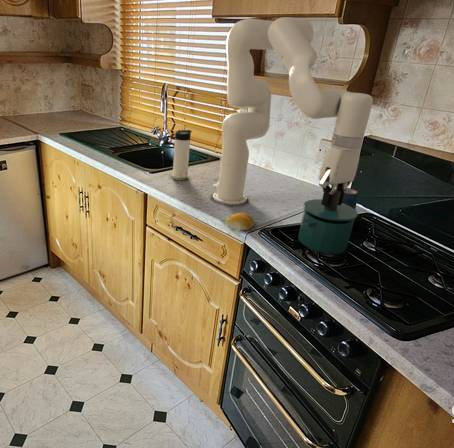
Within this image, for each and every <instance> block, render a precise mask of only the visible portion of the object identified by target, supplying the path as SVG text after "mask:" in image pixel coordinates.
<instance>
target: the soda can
mask: <svg viewBox="0 0 454 448" xmlns="http://www.w3.org/2000/svg"><path fill="white" fill-rule="evenodd" d="M358 200H359V195H358V190H356V189H354V188H351V187H347V190H346V192H344V197H343V201H342V203H343V204H346V205H348V206H350V207H352V208H354V209H355V210H356V209H357V204H358Z"/></svg>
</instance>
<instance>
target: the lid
mask: <svg viewBox="0 0 454 448" xmlns="http://www.w3.org/2000/svg"><path fill="white" fill-rule="evenodd" d="M333 194H334V195H335V196H334V200H333V204H332V207H331V208H328V207H326V206H324V205H322V204H321V202H322V198H317V199H309V200H306V201H305V202H304V203H303V210H304V209H305V210H306V211H307V212H309V213H310V214H312V215H315V216H317V217H320V218H324V219H328V220H334V221H350V220H354V221H355V219H357V218H358V214H359V213H358V211H357V210H356V208H355V209H354V208H352V207H350V206H348V205H346V204H343V203H342V205H340V206H339V205H338V202H339V198H340V195H341V191H340V190H337V189H336V188H335V190H334V193H333Z"/></svg>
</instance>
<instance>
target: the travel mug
mask: <svg viewBox="0 0 454 448" xmlns="http://www.w3.org/2000/svg"><path fill="white" fill-rule="evenodd" d="M191 133H193V131H192V130H190V129H182V130H177V131H175V134H174V135H175V136H174V144H173V145H174V146H173V160H172V161H173V162H172V175H171V176H172V179H173V180H176V181H185V180H187V179H188V172H189V160H190V148H191Z"/></svg>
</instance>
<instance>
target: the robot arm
mask: <svg viewBox="0 0 454 448" xmlns="http://www.w3.org/2000/svg"><path fill="white" fill-rule="evenodd" d="M314 35H315V32H314V26H313V25H312V23H311V22H310V21H309V20H307V19H305V18H301V17H300V18H298V17H289V16H284V17H279V18H277V19H275V20H268V19H259V18H246V19H241V20H239V21H237V22H235V23H234V24H233V25H232V26H231V28H230V30H229V31H228V34H227V37H226V44H225V50H226V51H225V52H226V59H227V78H226V79H227V83H226V84H227V85H226V98H227V103H228V105H229V106H230V107H231V108H234V109H247V111H240V112H232V113H230V114H228V115H227V116H226V117H225V118H224V119H223V121H222V124H221V136H222V138H221V139H222V146H221V147H222V148H221V157H220V158H221V159H220V166H219V176H218V181H216V183H214V184H213V185H212V187H213V188H214V189H216V190H215V192H213V194H212V199H213V200H214V201H215V202H217V203H221V204H225V205H226V204H227V205H242V204H245V203H246V202H247V201H248V197H247V196H246V195H245V194H244V193H245V185H246V179H247V171H248V170H247V169H248V164H249V159H250V158H249V157H250V152H249V146H248V144H247V141H249V140H256V139H260V138H263V137H264V136H265V135H266V134H267V133H268V131H269V129H270V120H271V104H272V90H271V88H270V85H269V83H268V82H267V80H265V79H263V78H259V77H258V78H257V77H255V75H254V74H255V73H254V71H255V63H254V59H253V56H252V54H251V52H250V50H261V51H262V50H266V51H274V52H275V53H276V55H277V56H278V57H279V59H280V61H281V62H282V64H283V65H284V67H285V68H286V70H287V72H288V74H289V75H288V87H289V93H290V95H291V97H292V99H293V101H294V102H295V104H296V106H297V107H298V108H299V110H300V111H301V112H302V114H303V115H305V116H306V117H307V118H309V119H314V120H318V119H319V120H320V119H325V118H326V119H328V118H336V120H335V123H334V124H335V125H334V128H333V133H332V137H331V142H330V145H328V148H327V150H326V152H325V155H324V157H323V160H322V164H321V167H320V171H319V175H318V179H319V183H318V186H319V187H321V189H322V192H323V195H322V198H321V199H322V202H321V204H322V205H324V206H326V207H328V208H331V207H332V204H333V200H334V196H335V195H334V194H333V193H334V190H335V189H337V190H340V191H341V195H340V198H339V202H338V205H339V206H340V205H342V201H343V197H344V192H346V190H347V188H349V186H350V184H352V183H353V182H354V181H355V177H356V176H357V175H356V174H357V171H358V166H359V162H360V157H361V156H360V155H361V149H362V145H363V141H364V138H365V134H366V130H367V126H368V122H369V119H370V115H371V112H372V111H371V110H372V107H373V103H374V98H373V95H372V96H371V94H367V93H362V92H351V91H349V90H346V89H341V88H320V86H318V85H317V83H316V81H315V80H314V78H313V77H312V75H311V72H310V69H312V67H313V66H314V65H315V64H316V62H317V60H318V52H317V51H316V50H315V49H314V46H313V45H312V44H311V43H312V42H313V40H314Z"/></svg>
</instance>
